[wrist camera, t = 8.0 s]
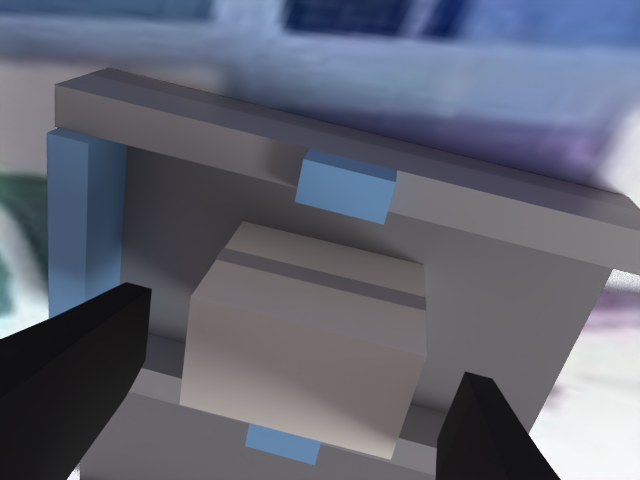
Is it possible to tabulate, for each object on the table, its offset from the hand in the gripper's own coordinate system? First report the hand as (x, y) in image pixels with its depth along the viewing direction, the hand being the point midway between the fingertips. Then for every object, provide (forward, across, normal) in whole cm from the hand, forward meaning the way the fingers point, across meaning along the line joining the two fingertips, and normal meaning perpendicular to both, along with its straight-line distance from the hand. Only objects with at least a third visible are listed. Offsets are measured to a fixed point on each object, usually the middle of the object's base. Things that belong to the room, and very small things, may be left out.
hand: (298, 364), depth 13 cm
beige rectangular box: (+3, 0, 0) cm, 4 cm away
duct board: (+4, 0, +4) cm, 6 cm away
